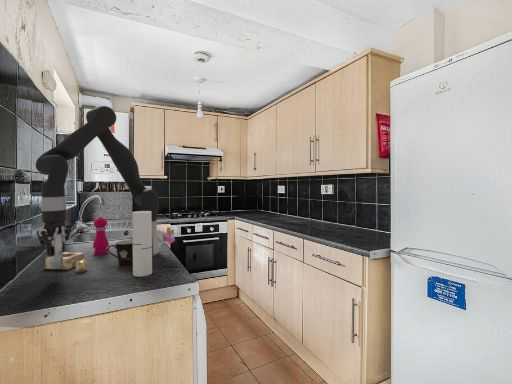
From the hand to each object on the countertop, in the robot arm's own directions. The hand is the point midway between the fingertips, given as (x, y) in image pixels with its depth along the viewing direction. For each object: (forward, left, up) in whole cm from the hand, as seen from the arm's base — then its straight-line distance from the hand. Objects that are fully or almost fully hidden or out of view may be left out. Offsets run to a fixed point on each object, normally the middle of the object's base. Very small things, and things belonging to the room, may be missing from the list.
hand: (56, 254), depth 103 cm
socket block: (+10, -17, -10) cm, 22 cm away
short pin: (-2, -11, -10) cm, 15 cm away
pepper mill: (+8, -38, -10) cm, 40 cm away
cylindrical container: (-29, -10, -10) cm, 32 cm away
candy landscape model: (-7, -65, -10) cm, 66 cm away
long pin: (0, 0, -4) cm, 4 cm away
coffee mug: (-14, -22, -10) cm, 28 cm away
